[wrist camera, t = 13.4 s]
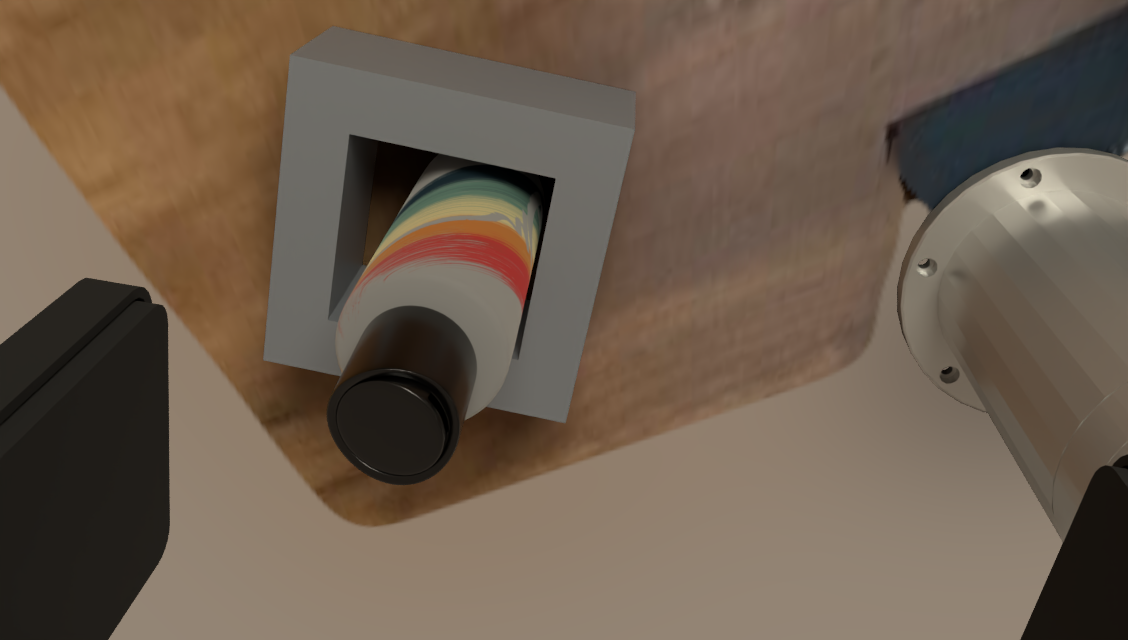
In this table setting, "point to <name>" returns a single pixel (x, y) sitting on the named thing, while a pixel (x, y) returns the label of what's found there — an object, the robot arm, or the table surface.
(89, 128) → the table surface
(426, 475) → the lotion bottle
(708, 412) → the table surface
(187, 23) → the table surface
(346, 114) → the sleeve
